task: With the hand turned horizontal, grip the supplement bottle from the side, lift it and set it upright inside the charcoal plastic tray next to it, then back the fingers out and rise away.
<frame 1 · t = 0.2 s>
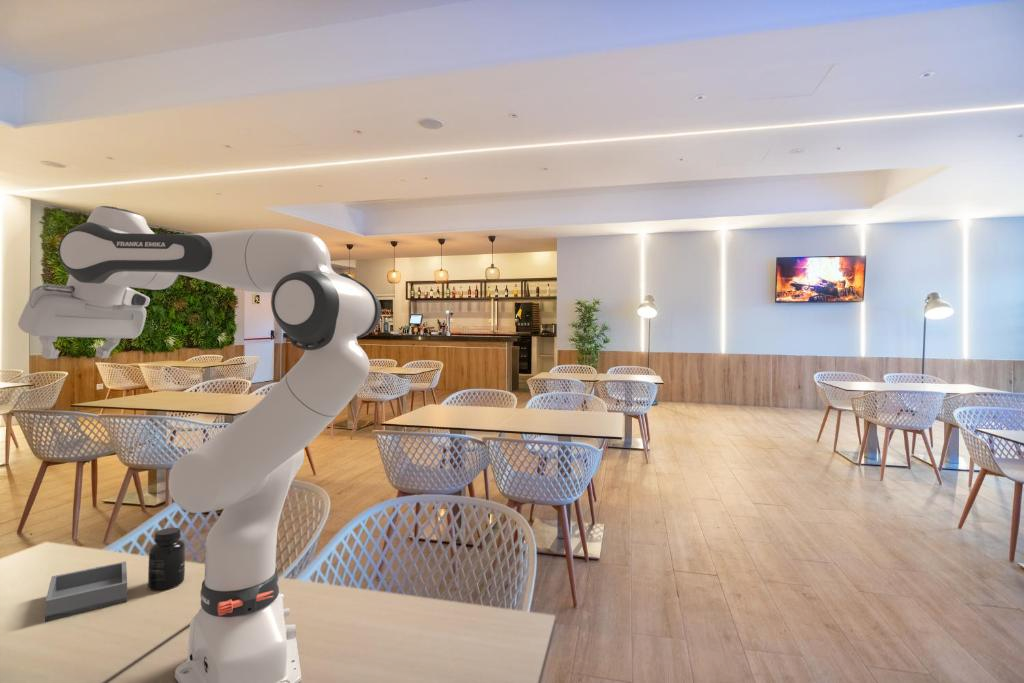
hand: (76, 357, 95), 52 cm above the table, tool tilted 20°, fingers open, 8 cm apart
supplement bottle: (166, 585, 112), on the table
tray: (88, 598, 106), on the table
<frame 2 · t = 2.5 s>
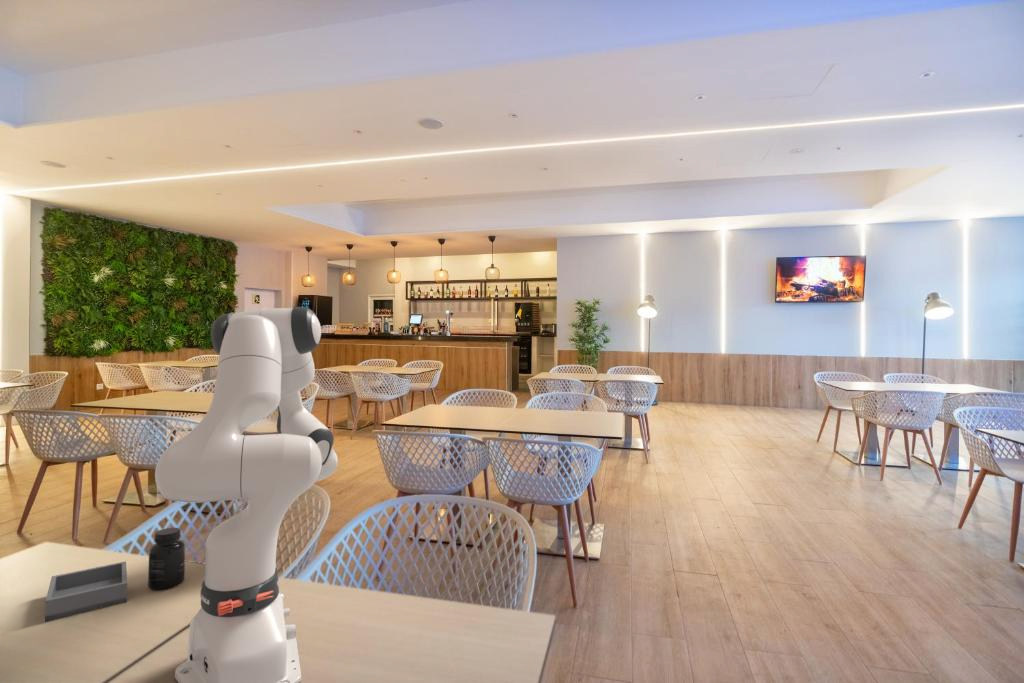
hand: (220, 484, 121), 20 cm above the table, tool horizontal, fingers open, 8 cm apart
nothing on the table moved.
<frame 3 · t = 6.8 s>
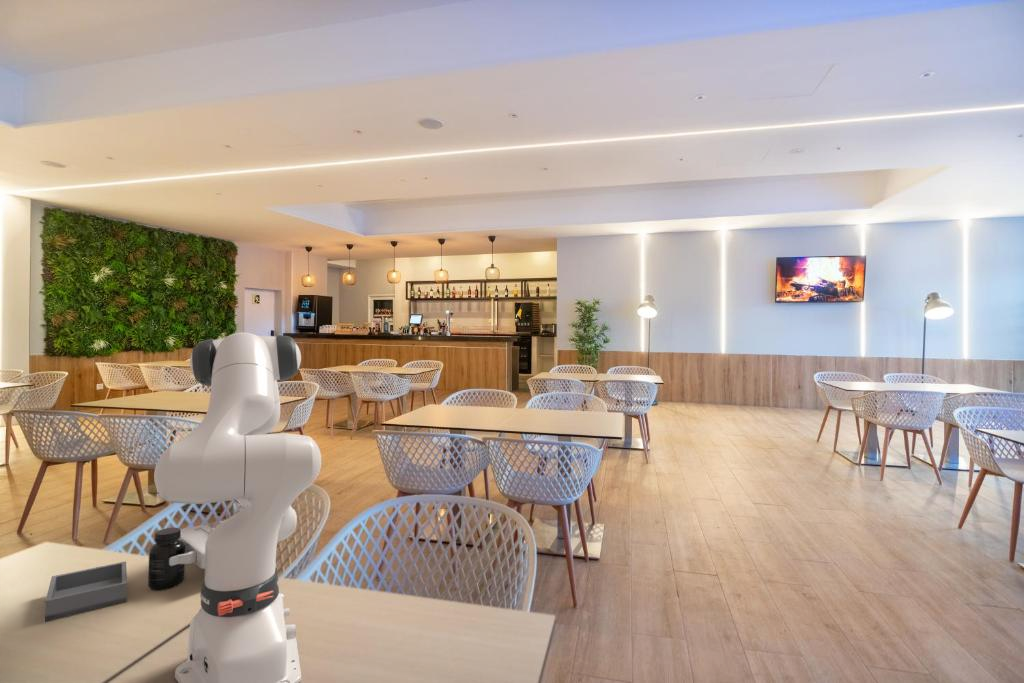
hand: (162, 555, 112), 7 cm above the table, tool horizontal, fingers closed on supplement bottle, 7 cm apart
supplement bottle: (166, 584, 112), on the table, touching gripper
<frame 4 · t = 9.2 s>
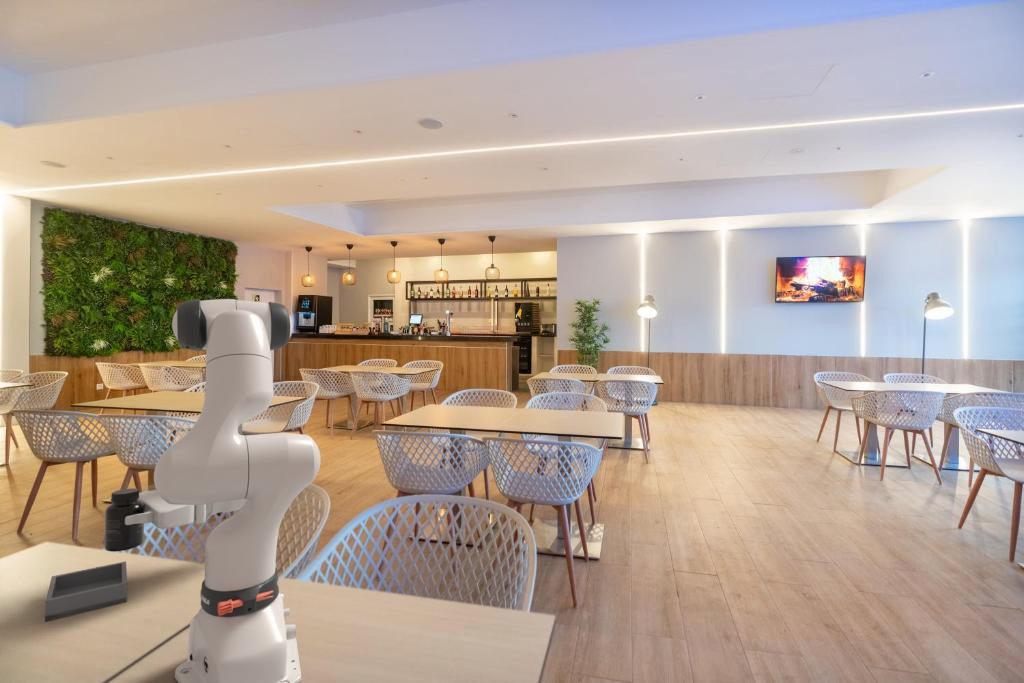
hand: (119, 516, 108), 17 cm above the table, tool horizontal, fingers closed on supplement bottle, 7 cm apart
supplement bottle: (124, 546, 109), point 10 cm above the table, touching gripper
when the fingers open (9 cm above the table, at t = 12.0 s): supplement bottle drops 1 cm, resting on tray.
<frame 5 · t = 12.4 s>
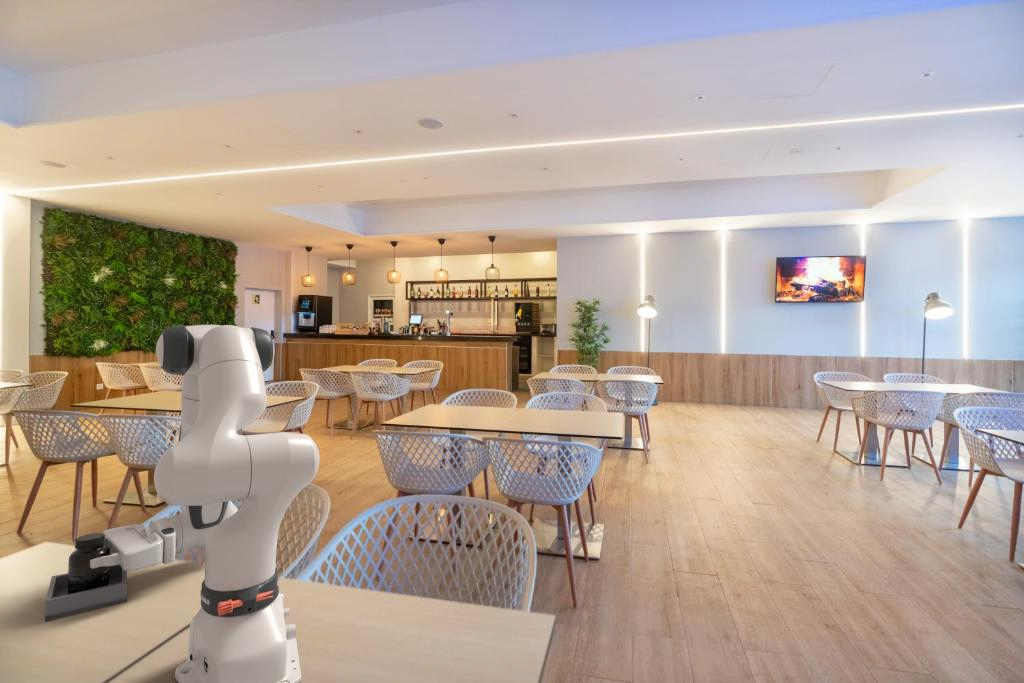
hand: (84, 557, 105), 9 cm above the table, tool horizontal, fingers open, 8 cm apart
supplement bottle: (88, 593, 106), point 1 cm above the table, touching tray
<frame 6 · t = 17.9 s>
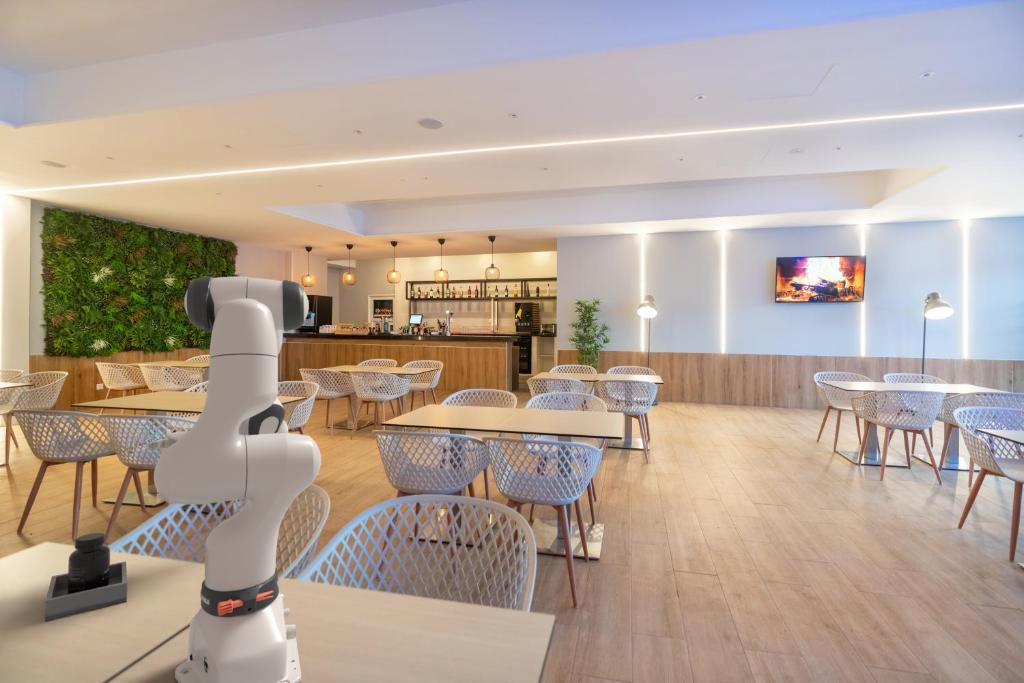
hand: (154, 449, 114), 30 cm above the table, tool horizontal, fingers open, 8 cm apart
nothing on the table moved.
at the end: supplement bottle 0.4 cm off-centre on the tray, point 0.8 cm above the tray's base; supplement bottle tilted 0°; the gripper is holding nothing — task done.
